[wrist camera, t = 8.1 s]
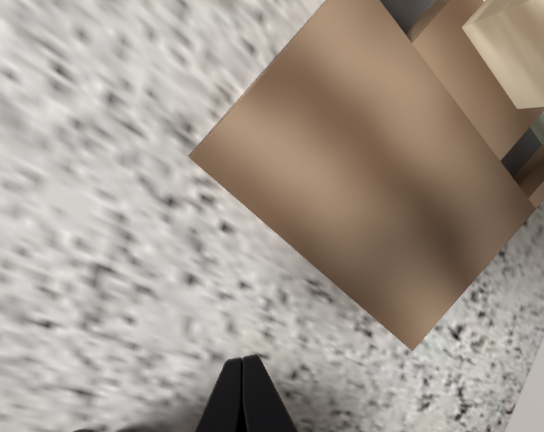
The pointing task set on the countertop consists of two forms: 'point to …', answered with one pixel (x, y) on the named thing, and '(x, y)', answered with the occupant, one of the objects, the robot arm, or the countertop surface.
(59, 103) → the countertop surface
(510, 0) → the birch block
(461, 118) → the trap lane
